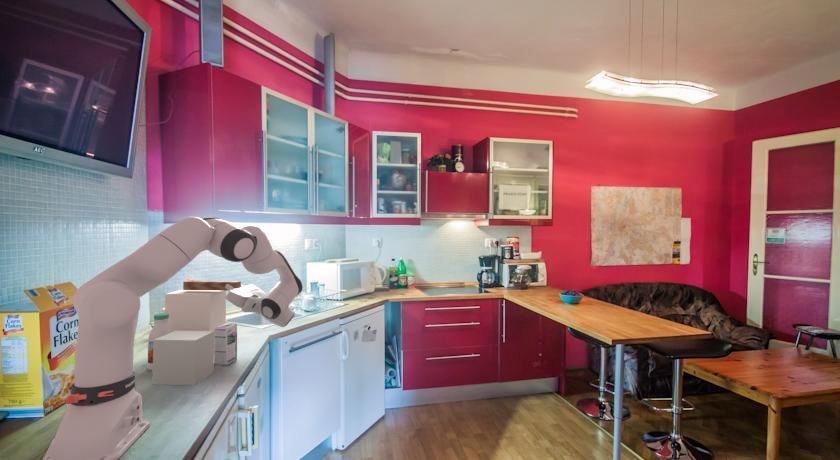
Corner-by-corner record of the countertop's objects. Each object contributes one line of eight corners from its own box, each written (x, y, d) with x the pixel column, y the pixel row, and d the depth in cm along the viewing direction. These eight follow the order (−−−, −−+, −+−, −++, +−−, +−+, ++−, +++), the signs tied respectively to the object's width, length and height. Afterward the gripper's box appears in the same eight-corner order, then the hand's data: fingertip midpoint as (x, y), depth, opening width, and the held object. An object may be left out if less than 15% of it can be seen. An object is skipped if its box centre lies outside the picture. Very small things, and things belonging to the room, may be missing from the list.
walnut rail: (240, 289, 149) (240, 281, 149) (236, 290, 145) (236, 282, 145) (188, 288, 148) (188, 280, 148) (183, 290, 145) (183, 281, 145)
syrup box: (226, 365, 134) (227, 327, 134) (213, 364, 135) (214, 326, 135) (237, 360, 140) (237, 323, 140) (224, 358, 141) (225, 323, 141)
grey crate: (213, 371, 128) (214, 331, 128) (194, 385, 117) (195, 340, 117) (174, 371, 127) (175, 330, 127) (152, 384, 116) (153, 339, 116)
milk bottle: (143, 368, 130) (144, 314, 130) (166, 361, 137) (167, 310, 137) (154, 372, 126) (155, 317, 126) (177, 365, 133) (178, 313, 133)
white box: (225, 348, 153) (226, 289, 153) (208, 358, 141) (210, 294, 141) (183, 348, 152) (184, 288, 153) (163, 358, 140) (165, 293, 141)
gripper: (271, 291, 157) (245, 275, 157) (250, 299, 137) (220, 281, 137) (264, 303, 157) (238, 287, 157) (242, 313, 137) (211, 295, 137)
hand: (229, 284), depth 147 cm, fingers closed on walnut rail, 3 cm apart
